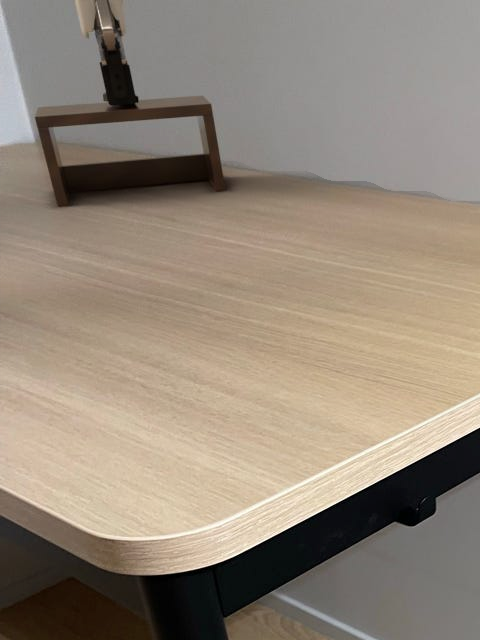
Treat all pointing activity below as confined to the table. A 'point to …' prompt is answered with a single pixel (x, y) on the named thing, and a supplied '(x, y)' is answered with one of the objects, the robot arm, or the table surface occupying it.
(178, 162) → the shelf
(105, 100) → the block
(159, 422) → the table surface
